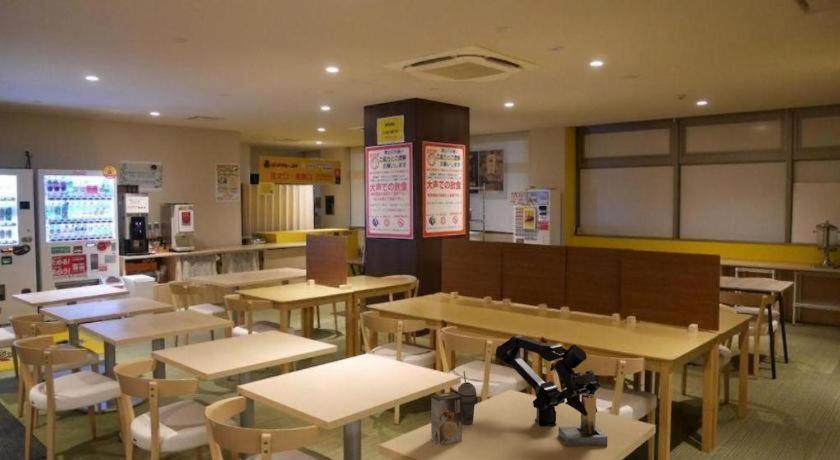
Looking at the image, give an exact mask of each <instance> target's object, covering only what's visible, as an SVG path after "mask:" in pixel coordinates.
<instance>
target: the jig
mask: <svg viewBox="0 0 840 460" xmlns="http://www.w3.org/2000/svg"><path fill="white" fill-rule="evenodd" d="M580 429H581V425H580V426H578V425H577V426H575V425H574V426H558V433H557V434H558V435H557V436H559V438H561V440H562V441H563V442H564V444H565V445H566V447H569V448H570V447H571V448H572V447H593V446H594V447H595V446H608V435H607V434H605V433H604V432H603V431H602V430H601V429H600V427H598V426H597V425H595V433H593V434H586V433H583V432H581V430H580Z"/></svg>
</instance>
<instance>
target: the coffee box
mask: <svg viewBox="0 0 840 460" xmlns="http://www.w3.org/2000/svg"><path fill="white" fill-rule="evenodd" d="M430 402H431V403H430V404H431V407H430V409H431V410H430V411H431V412H430V413H431V416H430V421H431V422H430V423H431V425H430V426H431V431H430V432H431V433H430V436H431V437H430V438H431V440H432V441H433V442H434V443H436V444H437V445H438V444H439V446H440V445H441V446H445V445H449V444H455V443H459V442H462V440H463V436H462V435H463V434H462V433H463V430H462V429H463V428H462V426H463V425H462V396H460V395H458V393H456V392H453V391H449V392H444V393H436V394H431V395H430Z"/></svg>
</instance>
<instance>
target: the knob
mask: <svg viewBox="0 0 840 460" xmlns="http://www.w3.org/2000/svg"><path fill="white" fill-rule="evenodd" d="M580 401H581V403H582V404H583V406H584V408H585V410H586V412H587V414H588V415H587V416H584V415H583V414H581V413H580V426H581V429H580V430H581V432H583V433H586V434H593V433H595V426H596V419H597V418H596V416H597V415H596V414H597V412H596V407H597V396H596V395H595V394H594V395H591V394H583V395H582V394H581V395H580Z"/></svg>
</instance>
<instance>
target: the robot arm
mask: <svg viewBox="0 0 840 460" xmlns="http://www.w3.org/2000/svg"><path fill="white" fill-rule="evenodd" d="M520 350H526V351H529V352H532V353H535V354H537V355H539V356H540V358H542V359H543V360H545V361H547V362H553V361H555V362H553V363H551V364H550V368H549V371H550V372H553V371H555V372H556V373H557V374H558V377H559V378H560V380H561V382H560V385H561V386H563V385H564V386H565V388H566V389H562V390H561V391H560V388H559V387H558V386H557V385H556V384H555V383H554V381H552V380H549V381H544V379H542V378H541V377H540V376H539V375H538V373H536V371H534V370H533V369H532V368H531V367H530V365H528V364H527V363H526V362H525V361H524V360H523V359H522V358H521V355H520ZM495 356H496V358H497V359H499V361H500V362H502V363H504V364H506V365H508V366H511V368H512V369H514V370H515V372H516V373H517V374H518V375H519V376H520V377H521V378H522V379H523V380H524V381H525V382H526V383H527V384H528V385H529V386H530V387H531V388H532V389H533V390H534V393H535V397H536V398H535V399H533V400H532V405H533V408H535V409H536V417H535V418H534V421H535V422H536V423H537V424H538V425H539V426H541V427H542V426H543V427H544V426H557V411H556V407H558V406H559V405H561V404H565V405H567V406H569V407H571V408H573V409H574V410H576V411H577V412H579V413H580V415H581V414H583V415H584V416H587V415H588V414H587V412H586V410H585V408H584V406H583V404H582V403H581V396H582V395H583V394H591V395H594V396H595V393H596V392H597V391H598V390H599V389H601V388H602V387H601V385H600V383H599V381H596V380H594V379H596V375H595V372H594V371H593V370H592V369H589V370H586V371H585V372H584V374H581V373H580V372H575V370H574V369H576V368H578V367H579V366H580V365H581V364H583V363H584V362H585V361H586V360H587V356H588V355H587V353H586V352H585V350H583V349H582V348H580V347H579V346H577V344H572V345H570V346H569V348H568V349H567V348H565V347H563V345H562V344H561V343H556V342H553V343H552V342H551V343H550V342H548V343H547V342H541V341H538V340H536V339H532V338H529V337H525V336H524V335H520V334H519V335H513V336H512V337H510V339H508V340H506V341H505V342H503V343H502V344H501V345H498V346H496V350H495ZM565 400H566V401H565ZM597 412H598V408H597V406H596V413H597Z"/></svg>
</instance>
